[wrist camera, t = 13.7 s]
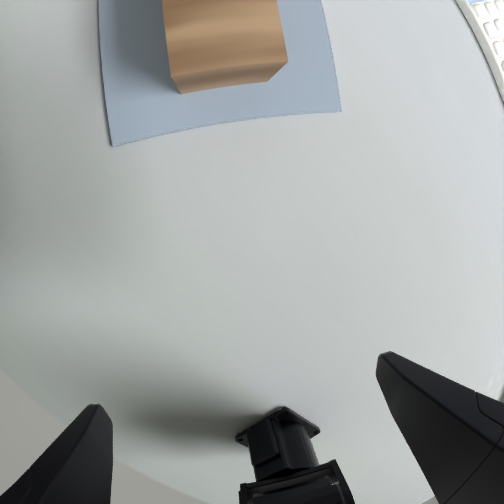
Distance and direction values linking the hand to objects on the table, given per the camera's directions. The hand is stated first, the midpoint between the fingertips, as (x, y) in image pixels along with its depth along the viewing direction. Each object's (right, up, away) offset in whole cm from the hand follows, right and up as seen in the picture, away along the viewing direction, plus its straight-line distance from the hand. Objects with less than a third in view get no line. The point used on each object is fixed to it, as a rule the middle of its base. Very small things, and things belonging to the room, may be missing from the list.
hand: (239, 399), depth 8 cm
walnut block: (-1, +13, +5) cm, 14 cm away
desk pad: (-2, +20, +5) cm, 21 cm away
